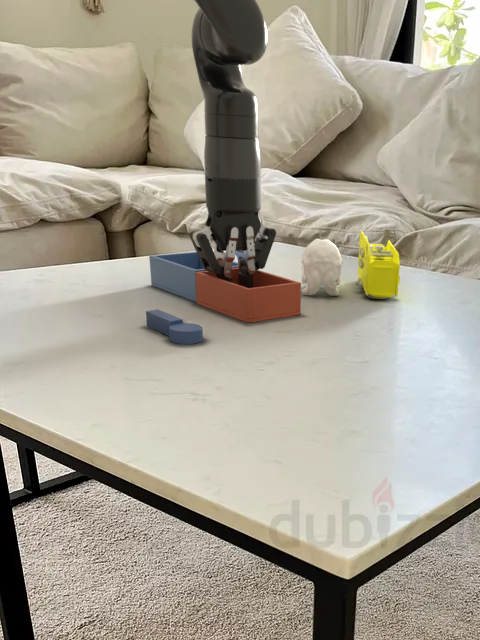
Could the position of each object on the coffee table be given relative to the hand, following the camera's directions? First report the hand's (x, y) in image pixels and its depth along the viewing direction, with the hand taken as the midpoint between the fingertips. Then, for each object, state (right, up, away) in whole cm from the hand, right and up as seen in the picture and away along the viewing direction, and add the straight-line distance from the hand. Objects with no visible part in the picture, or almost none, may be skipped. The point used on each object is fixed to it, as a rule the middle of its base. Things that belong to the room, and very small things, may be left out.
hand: (235, 300), depth 115 cm
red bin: (+2, -2, -1) cm, 3 cm away
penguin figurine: (+11, +5, +12) cm, 17 cm away
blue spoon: (-5, -9, -15) cm, 18 cm away
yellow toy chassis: (+20, +6, +15) cm, 26 cm away
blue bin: (-7, +3, +7) cm, 11 cm away
